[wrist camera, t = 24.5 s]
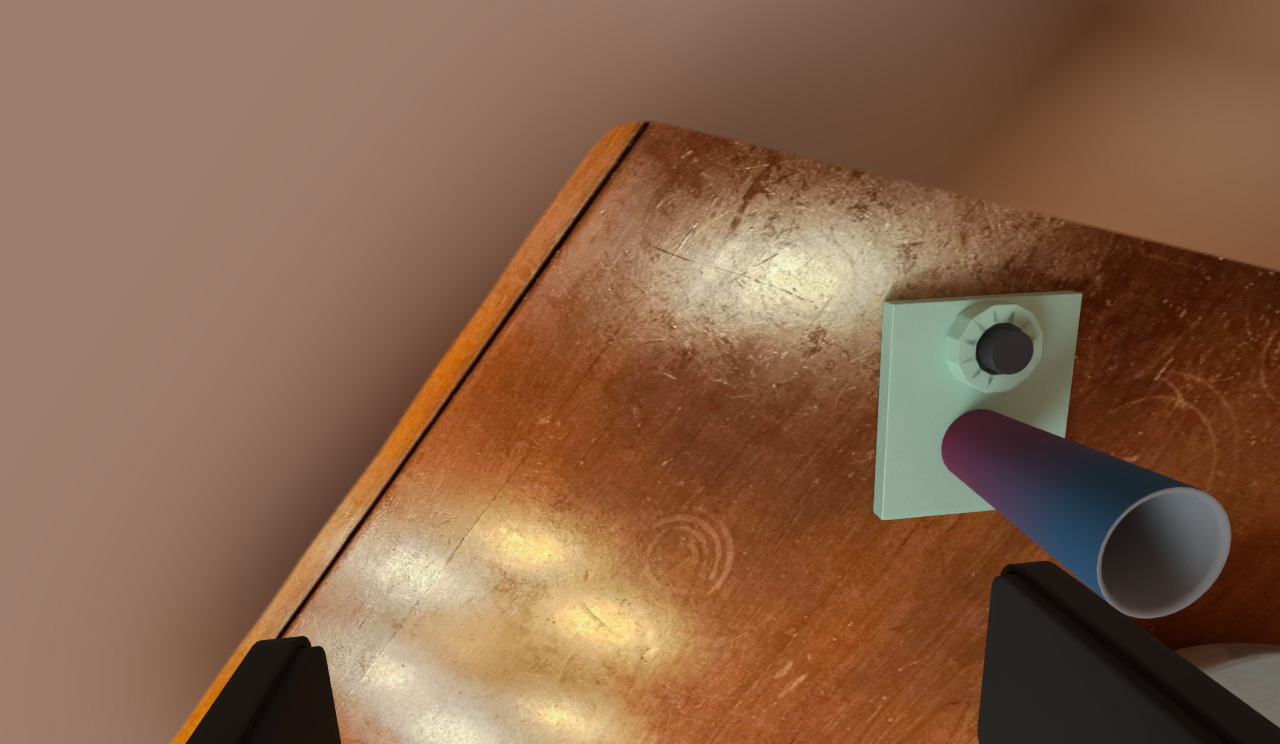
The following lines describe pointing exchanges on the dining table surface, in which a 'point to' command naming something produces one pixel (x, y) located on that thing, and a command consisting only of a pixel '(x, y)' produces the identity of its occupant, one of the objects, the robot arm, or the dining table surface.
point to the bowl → (1243, 672)
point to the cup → (1095, 512)
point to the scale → (962, 388)
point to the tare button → (1005, 350)
